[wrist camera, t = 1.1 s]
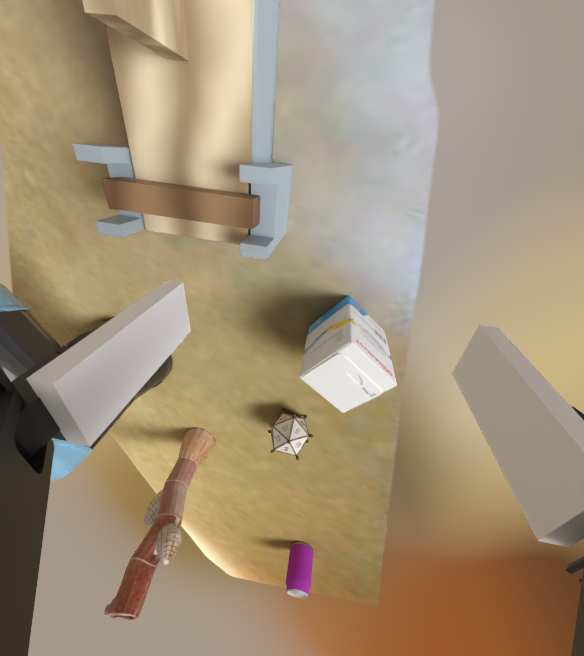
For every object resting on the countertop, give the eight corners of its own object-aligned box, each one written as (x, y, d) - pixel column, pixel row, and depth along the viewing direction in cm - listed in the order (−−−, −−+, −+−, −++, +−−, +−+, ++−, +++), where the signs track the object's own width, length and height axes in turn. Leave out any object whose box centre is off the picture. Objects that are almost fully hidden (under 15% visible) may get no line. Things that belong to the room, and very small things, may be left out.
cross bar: (127, 204, 27) (109, 208, 25) (121, 176, 26) (101, 178, 24) (259, 223, 26) (252, 229, 24) (260, 195, 25) (252, 199, 23)
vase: (189, 445, 66) (97, 617, 41) (180, 426, 62) (72, 604, 38) (228, 449, 64) (157, 632, 39) (222, 429, 60) (137, 619, 36)
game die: (304, 405, 57) (321, 453, 52) (267, 420, 57) (281, 469, 52) (297, 395, 50) (317, 450, 44) (255, 412, 49) (270, 469, 44)
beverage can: (296, 550, 92) (291, 598, 82) (287, 540, 89) (280, 588, 79) (317, 550, 90) (313, 599, 80) (307, 540, 86) (303, 590, 76)
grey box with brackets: (164, 215, 36) (99, 236, 26) (110, -123, 21) (-74, -348, 12) (286, 233, 35) (265, 262, 25) (317, -115, 20) (294, -360, 11)
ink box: (307, 326, 42) (296, 377, 32) (349, 293, 38) (351, 340, 28) (343, 359, 44) (343, 415, 35) (386, 331, 40) (400, 386, 30)
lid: (156, 226, 30) (86, 252, 22) (81, -202, 16) (-190, -575, 8) (252, 240, 29) (217, 273, 21) (260, -199, 15) (165, -615, 7)
